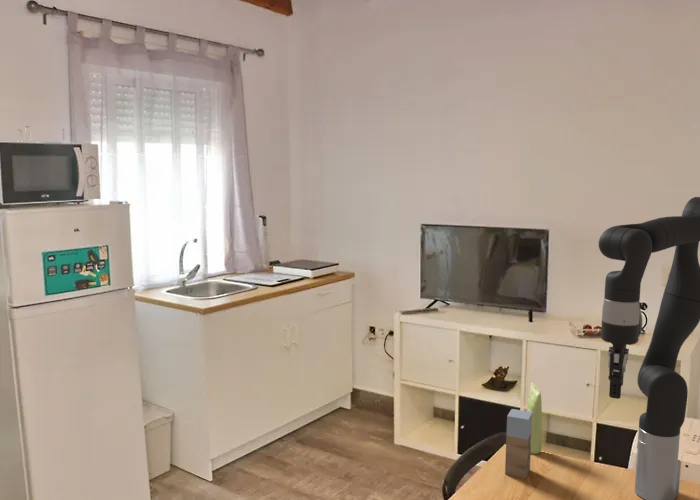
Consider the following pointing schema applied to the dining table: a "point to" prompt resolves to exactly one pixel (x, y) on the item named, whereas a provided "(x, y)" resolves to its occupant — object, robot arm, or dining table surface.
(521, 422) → the slate block
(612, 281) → the robot arm
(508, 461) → the tower lower
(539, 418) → the tube
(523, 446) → the tower upper
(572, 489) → the dining table surface
